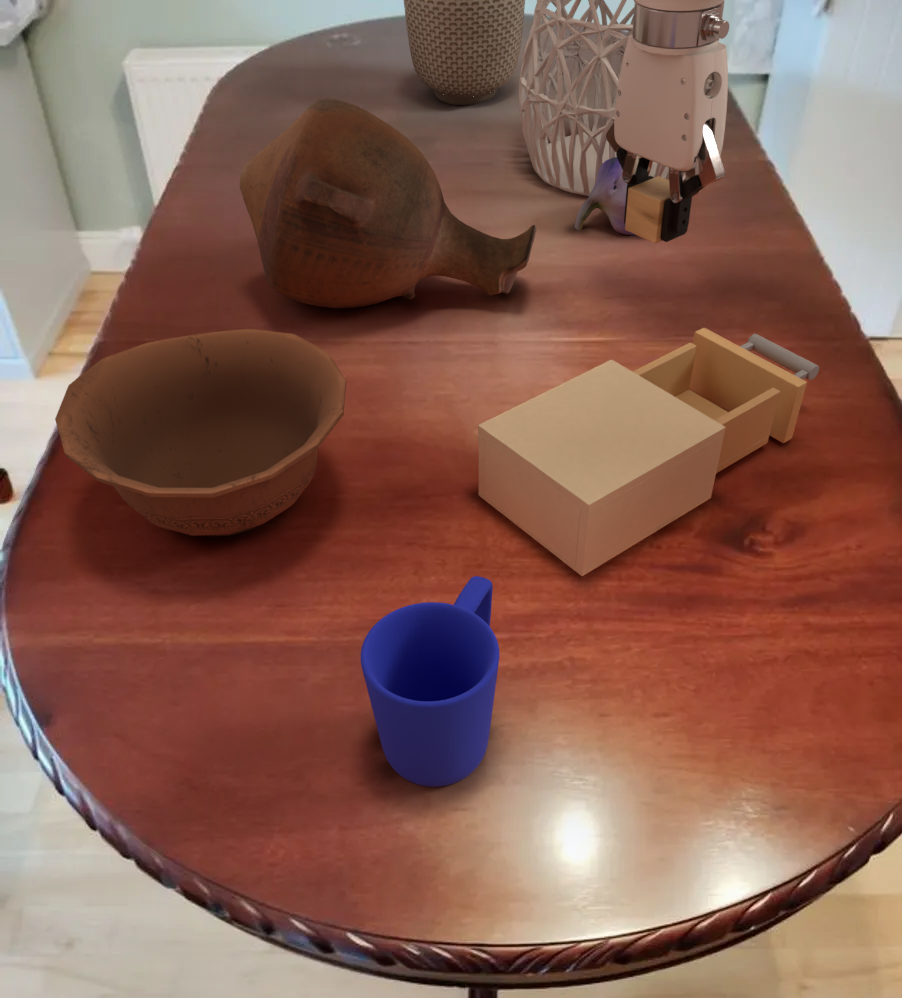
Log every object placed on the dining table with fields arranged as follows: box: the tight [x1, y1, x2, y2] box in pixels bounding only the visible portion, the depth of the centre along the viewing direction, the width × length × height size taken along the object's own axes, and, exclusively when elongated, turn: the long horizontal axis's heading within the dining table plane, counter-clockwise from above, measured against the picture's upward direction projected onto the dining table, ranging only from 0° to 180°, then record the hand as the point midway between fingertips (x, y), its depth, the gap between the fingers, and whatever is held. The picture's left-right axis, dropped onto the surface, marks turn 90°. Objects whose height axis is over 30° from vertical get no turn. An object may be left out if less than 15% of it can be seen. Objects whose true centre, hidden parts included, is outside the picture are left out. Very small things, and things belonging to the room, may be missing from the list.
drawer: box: [631, 327, 820, 474], centre depth 87 cm, size 19×11×6 cm, turn 128°
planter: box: [403, 0, 526, 106], centre depth 143 cm, size 17×17×16 cm
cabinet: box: [477, 359, 726, 577], centre depth 81 cm, size 15×13×8 cm
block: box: [625, 176, 670, 244], centre depth 98 cm, size 4×4×4 cm
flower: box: [573, 157, 637, 236], centre depth 115 cm, size 9×9×10 cm
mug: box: [360, 575, 500, 788], centre depth 64 cm, size 8×12×10 cm
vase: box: [518, 0, 686, 197], centre depth 119 cm, size 24×24×30 cm
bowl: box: [54, 328, 347, 537], centre depth 80 cm, size 22×22×11 cm
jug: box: [239, 98, 537, 309], centre depth 101 cm, size 20×20×30 cm
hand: (655, 226), depth 99 cm, fingers closed on block, 4 cm apart
